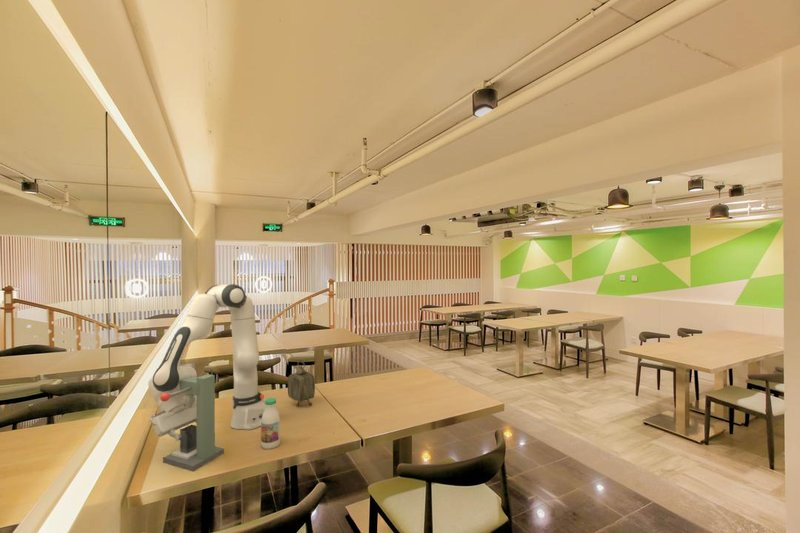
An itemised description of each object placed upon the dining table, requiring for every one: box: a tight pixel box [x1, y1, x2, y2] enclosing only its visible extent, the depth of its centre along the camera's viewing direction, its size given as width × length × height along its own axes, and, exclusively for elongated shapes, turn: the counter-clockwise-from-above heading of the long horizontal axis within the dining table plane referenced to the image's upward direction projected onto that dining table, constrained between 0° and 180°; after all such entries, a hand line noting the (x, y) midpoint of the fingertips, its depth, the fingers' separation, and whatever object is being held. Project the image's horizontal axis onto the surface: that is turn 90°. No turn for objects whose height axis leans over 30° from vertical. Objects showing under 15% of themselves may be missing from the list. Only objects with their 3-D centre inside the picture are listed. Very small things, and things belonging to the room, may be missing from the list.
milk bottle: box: [260, 397, 281, 450], centre depth 152 cm, size 8×8×20 cm
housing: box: [179, 424, 197, 454], centre depth 143 cm, size 5×4×9 cm
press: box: [160, 374, 225, 472], centre depth 139 cm, size 17×22×34 cm
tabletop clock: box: [287, 360, 316, 407], centre depth 197 cm, size 14×9×25 cm, turn 49°
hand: (190, 434), depth 143 cm, fingers open, 8 cm apart
